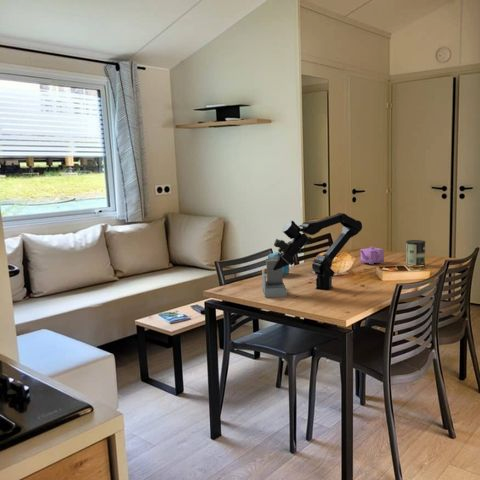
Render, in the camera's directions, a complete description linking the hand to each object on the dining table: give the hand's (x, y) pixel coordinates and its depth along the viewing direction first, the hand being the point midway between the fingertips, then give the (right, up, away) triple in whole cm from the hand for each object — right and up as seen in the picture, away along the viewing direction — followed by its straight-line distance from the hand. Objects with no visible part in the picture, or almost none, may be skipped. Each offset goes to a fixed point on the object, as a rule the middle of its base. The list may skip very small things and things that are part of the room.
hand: (273, 269), depth 241 cm
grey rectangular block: (+1, -7, +1) cm, 7 cm away
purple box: (+61, -1, +63) cm, 87 cm away
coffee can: (+83, -1, +51) cm, 98 cm away
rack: (+1, -11, +2) cm, 11 cm away
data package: (+6, -6, +41) cm, 42 cm away
